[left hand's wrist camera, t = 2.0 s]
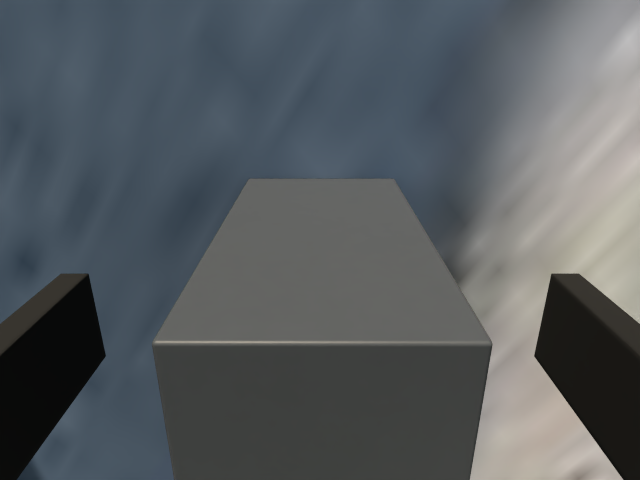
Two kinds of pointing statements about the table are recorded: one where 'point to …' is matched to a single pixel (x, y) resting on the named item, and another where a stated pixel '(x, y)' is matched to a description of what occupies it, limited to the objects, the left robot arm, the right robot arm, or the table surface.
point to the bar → (321, 343)
